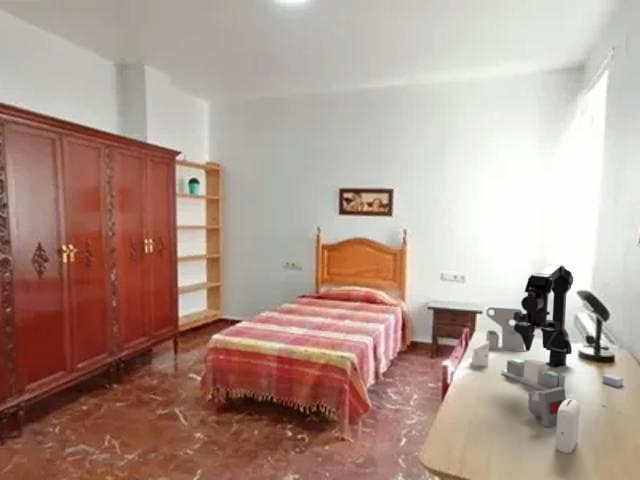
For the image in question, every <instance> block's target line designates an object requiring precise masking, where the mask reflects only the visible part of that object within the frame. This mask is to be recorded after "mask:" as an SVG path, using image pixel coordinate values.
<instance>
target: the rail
mask: <svg viewBox="0 0 640 480" xmlns="http://www.w3.org/2000/svg"><path fill="white" fill-rule="evenodd" d="M524 364H525V359H520V358H511V359H507V362H506V368H505V369H501V374H502V375H504V376H507V377H508V378H511V379H513V380H515V381H517V382H520V383H522V384H524V385H525V384H526V385H527V386H530V387H531V388H534V389H537V390H538V391H544V390H548V389H553V388H557V384H558V372H556V371H553V370H552V371H551V370H550V371H546V372H545V373H541V382H540V383H536V382H534V381H532V380H529V379H527V378H524ZM565 378H566V375H565V374H562V373H559V387H561V388H564V391H565V392H566V390H565V389H566V387H565V380H566V379H565Z"/></svg>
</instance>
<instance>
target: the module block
mask: <svg viewBox="0 0 640 480" xmlns="http://www.w3.org/2000/svg"><path fill="white" fill-rule="evenodd" d="M524 361H525V364H524V378H527V379H529V380H532V381H534V382H536V383H540V382H541V373H545V372H547V369H546V368H547V364H546V363H547V362H545V361H542V360H539V359H536V358H533V357H530V358H529V357H528V358H524Z"/></svg>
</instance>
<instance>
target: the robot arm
mask: <svg viewBox="0 0 640 480" xmlns="http://www.w3.org/2000/svg"><path fill="white" fill-rule="evenodd" d="M573 284H574V276H573V274H572V272H571V271H570V270H569V269H568V268H567V269H566V267H565V265H562V264H558V263H549V265H548V267H546V268H545V269H543V271H541V272H534V273H532V274H531V275H530V276H529V277H528V280H527V283H526V285H525V289H524V293H526V294H527V295H526V296H524V297H523V298H522V299H521V303H520V305H521V307H522V309H523V310H524V311H525V313H523V314H521V312H515V313H514V320H515V321H517V323H516V324H515V323H514V331H516V332H517V333H519V334H520V335H521V336H522V339H523V341H524V347H525V348H526V350H527V352H530V350H531V347H532V344H533V341H534V338H535V331H536V330H540V331H541V333H542V348H544V349H545V350H546V351H549V357H548V362H545V363H546V365H548V366H551V367H554V368H560V367H561V368H562V367H564V366H567V356H568V355H572V351H573V349H572V347H573V346H572V344H571V340H570V339H569V338H570V337H569V333H568V331H567V330H566V325H565V324H566V307H567V305H566V304H567V294H568V293H569V291H570V290H571V288H572V286H573ZM551 293H553V300H552V301H553V302H552V303H553V304H552V305H553V306H552V319H548V316H550V314H551V311H548V306H549V305H548V302H549V294H551ZM514 320H513V321H514ZM515 321H514V322H515ZM520 322H523V323H520Z"/></svg>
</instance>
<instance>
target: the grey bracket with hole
mask: <svg viewBox="0 0 640 480" xmlns="http://www.w3.org/2000/svg"><path fill="white" fill-rule="evenodd" d="M490 310H491V311H493V314H490V313H489V311H490ZM515 312H521V314H524V313H523V311H522V310H521V309H518V308H506V307H488V309H486V316H487V318H488V319H490V320H491V321H492V322H494V323H496V324H497V325H499V327H501V342H499V340H500V335H499V333H498V332H497V331H496V330H495V331H494V330H486V335H485V336H486V339H485V340H486V341H485V342H487V341H489V348H494V349H493V350H497V349H503V350H502V351H509V350H513V351H512V352H521V353H522V352H523V353H524V352H525V353H526V352H528V351H527V350H526V348H525V345H524V341H523V339H522V336H521V335H520V334H519V333H517V332H516V331H514V325H515V324H516V323H517V321H515V320H514V313H515ZM510 321H514V322H515V323H514V325H512V324H510ZM520 323H523V322H520Z"/></svg>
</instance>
